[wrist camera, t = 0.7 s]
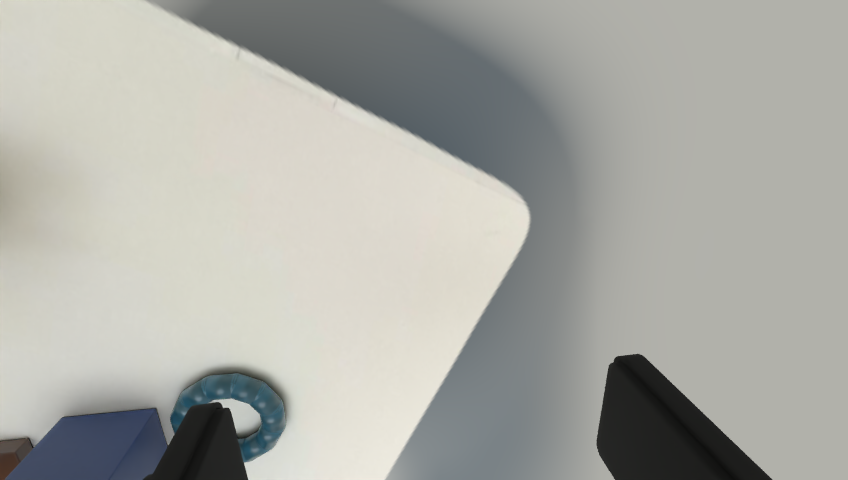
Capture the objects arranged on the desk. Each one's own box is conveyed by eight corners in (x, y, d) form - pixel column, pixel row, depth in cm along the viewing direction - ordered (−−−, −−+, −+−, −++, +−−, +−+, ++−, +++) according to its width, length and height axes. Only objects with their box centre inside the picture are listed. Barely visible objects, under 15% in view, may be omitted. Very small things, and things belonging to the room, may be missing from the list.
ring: (167, 374, 27) (155, 390, 26) (279, 364, 28) (275, 379, 27) (190, 455, 30) (181, 474, 29) (292, 444, 31) (288, 462, 29)
